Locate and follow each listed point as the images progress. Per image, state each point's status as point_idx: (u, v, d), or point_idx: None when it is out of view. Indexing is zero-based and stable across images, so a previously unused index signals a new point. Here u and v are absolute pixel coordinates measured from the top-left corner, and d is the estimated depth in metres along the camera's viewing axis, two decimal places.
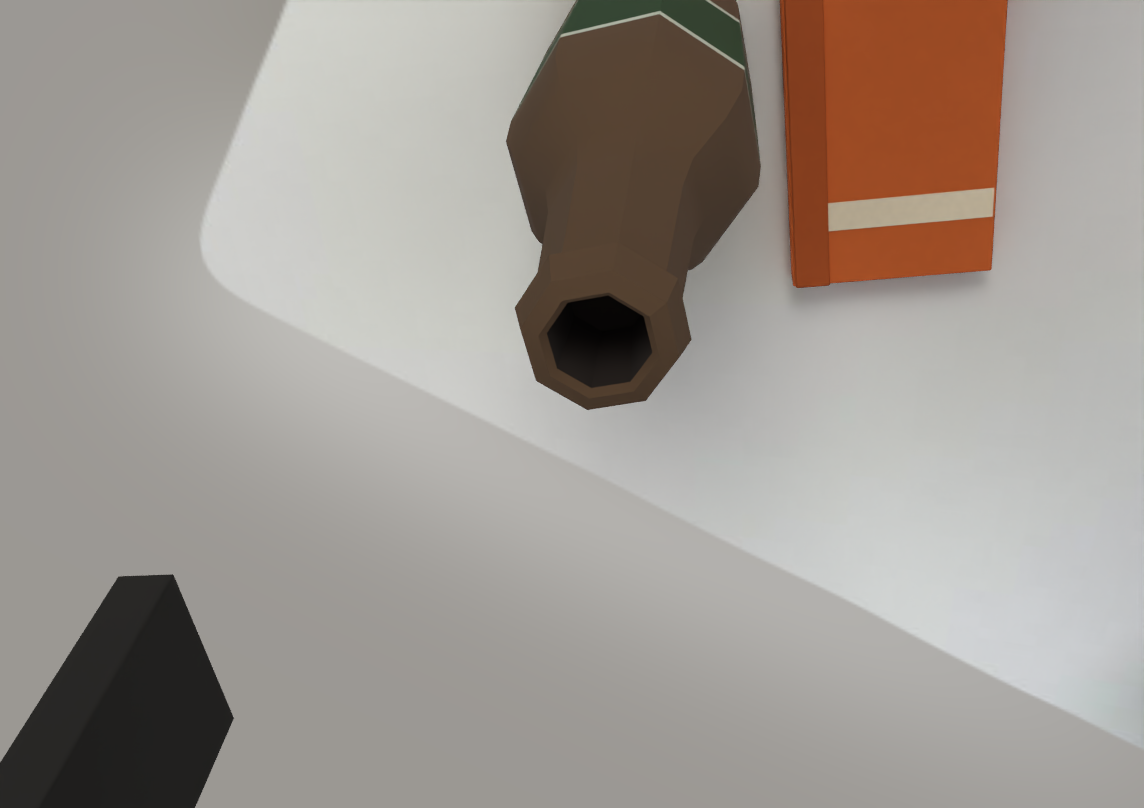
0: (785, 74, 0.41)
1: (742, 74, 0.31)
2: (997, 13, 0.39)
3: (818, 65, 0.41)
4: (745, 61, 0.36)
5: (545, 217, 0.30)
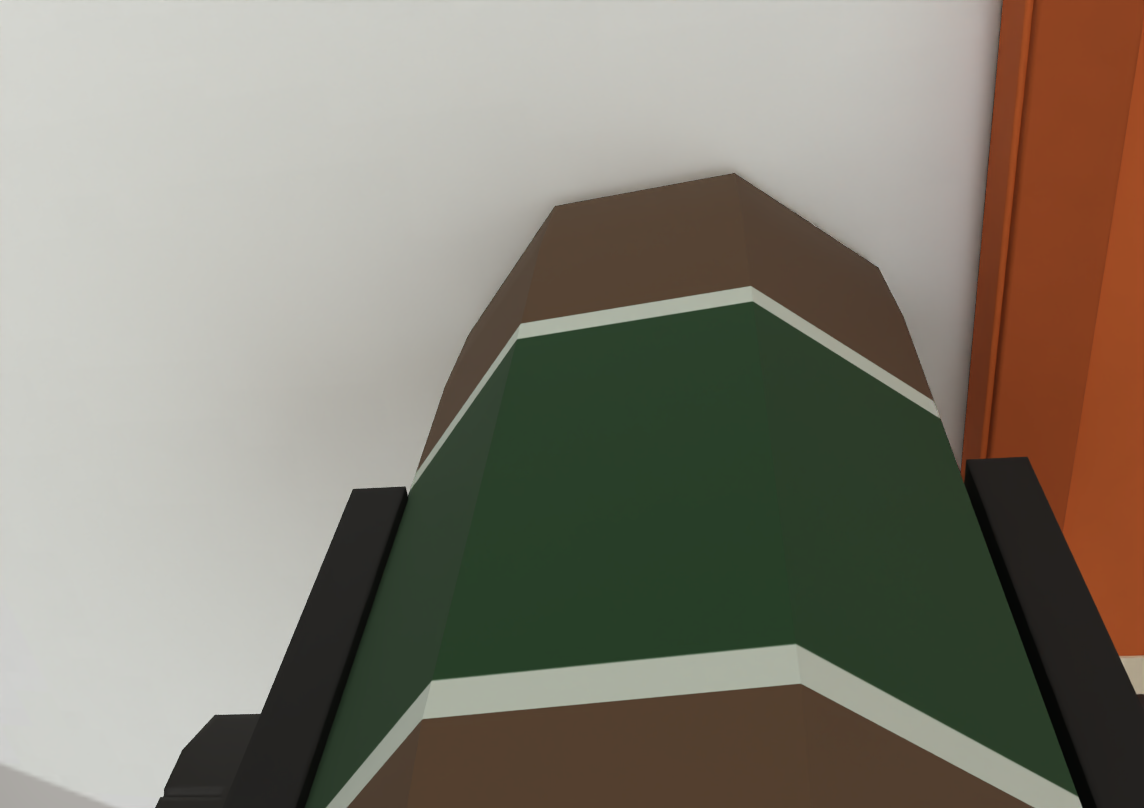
0: (985, 434, 0.18)
1: None
2: None
3: (1066, 425, 0.18)
4: None
5: None
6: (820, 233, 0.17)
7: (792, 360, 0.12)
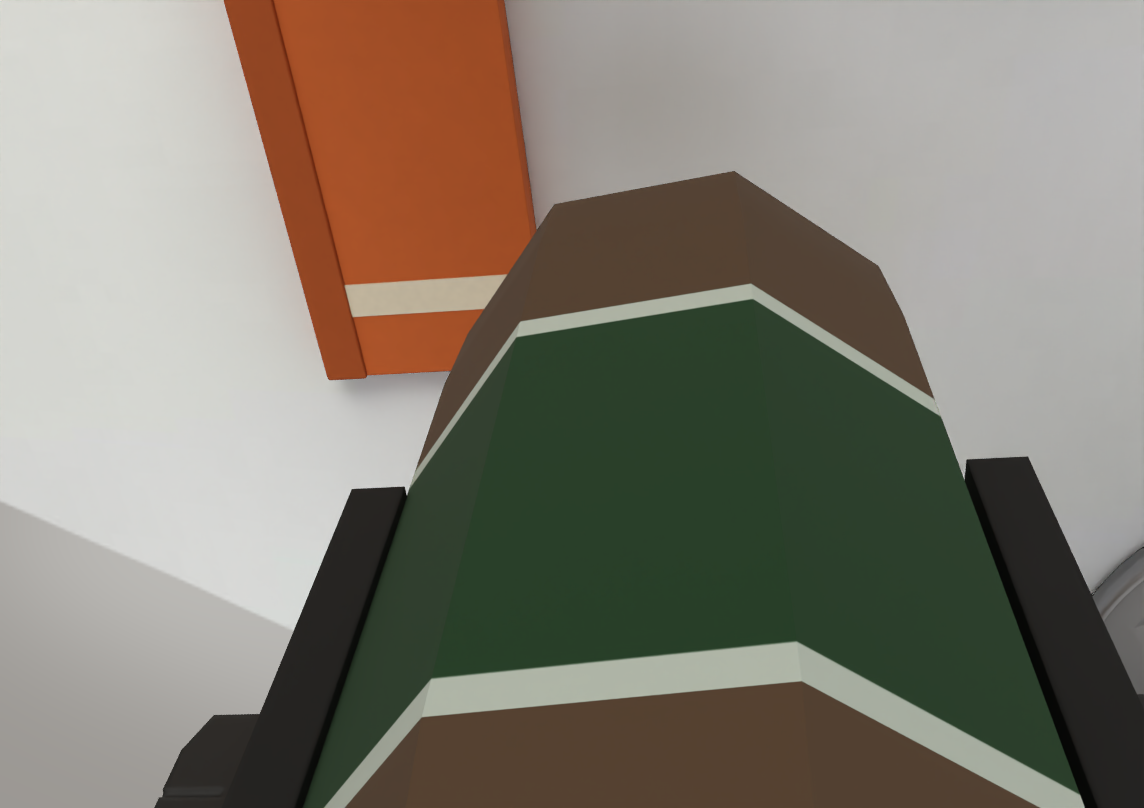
0: (261, 133, 0.34)
1: None
2: (496, 69, 0.32)
3: (294, 124, 0.33)
4: None
5: None
6: (820, 231, 0.17)
7: (792, 357, 0.12)
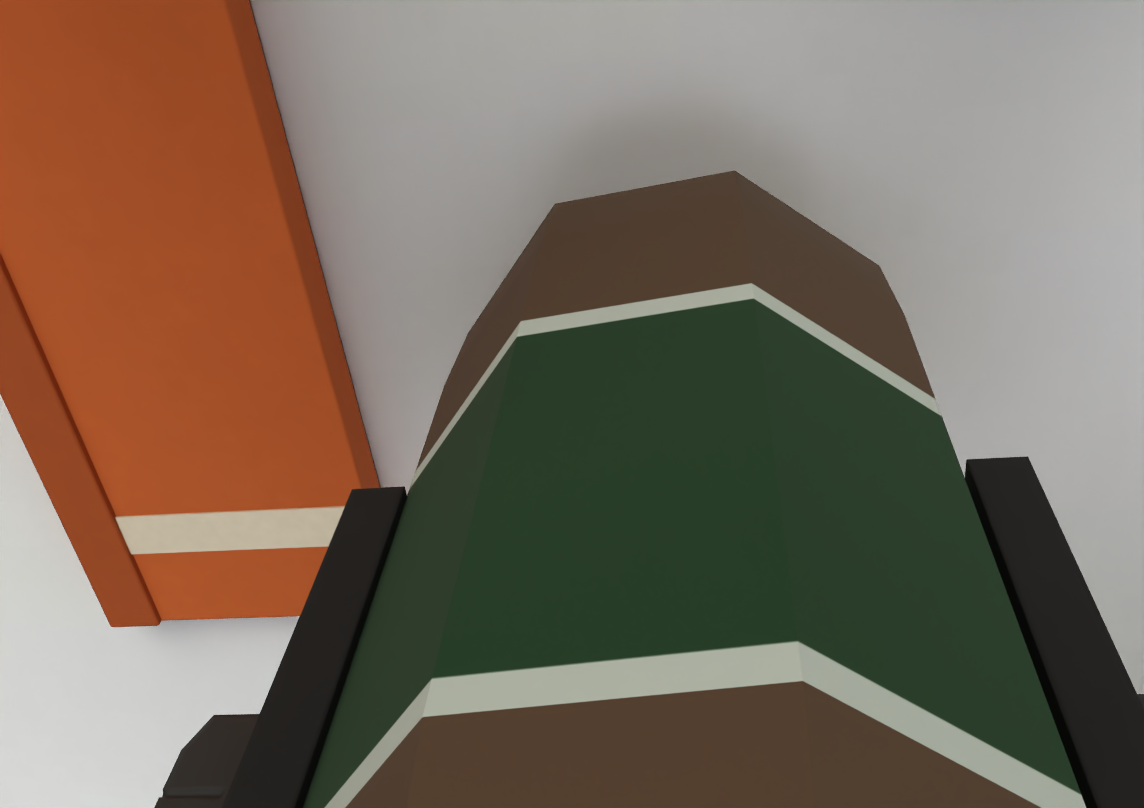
0: None
1: None
2: (281, 256, 0.23)
3: (14, 324, 0.24)
4: None
5: None
6: (820, 231, 0.17)
7: (793, 357, 0.12)
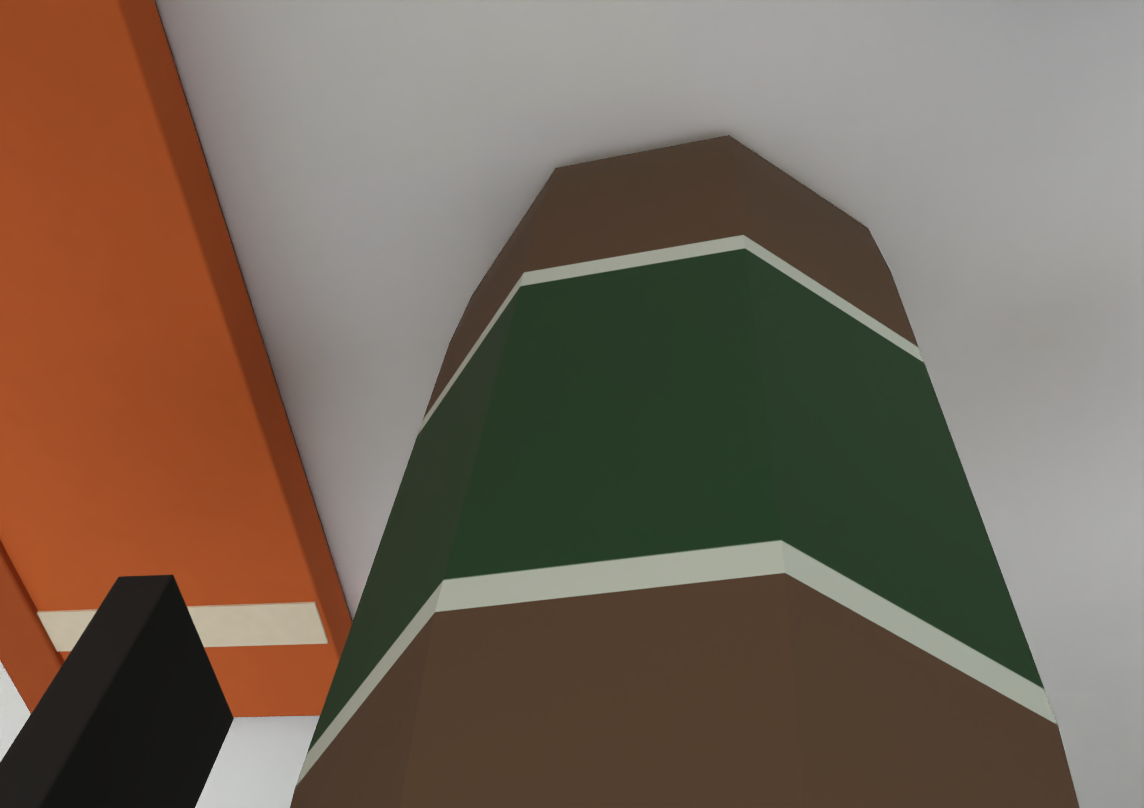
0: None
1: (1065, 770, 0.09)
2: (212, 331, 0.20)
3: None
4: None
5: None
6: (811, 194, 0.18)
7: (782, 302, 0.13)
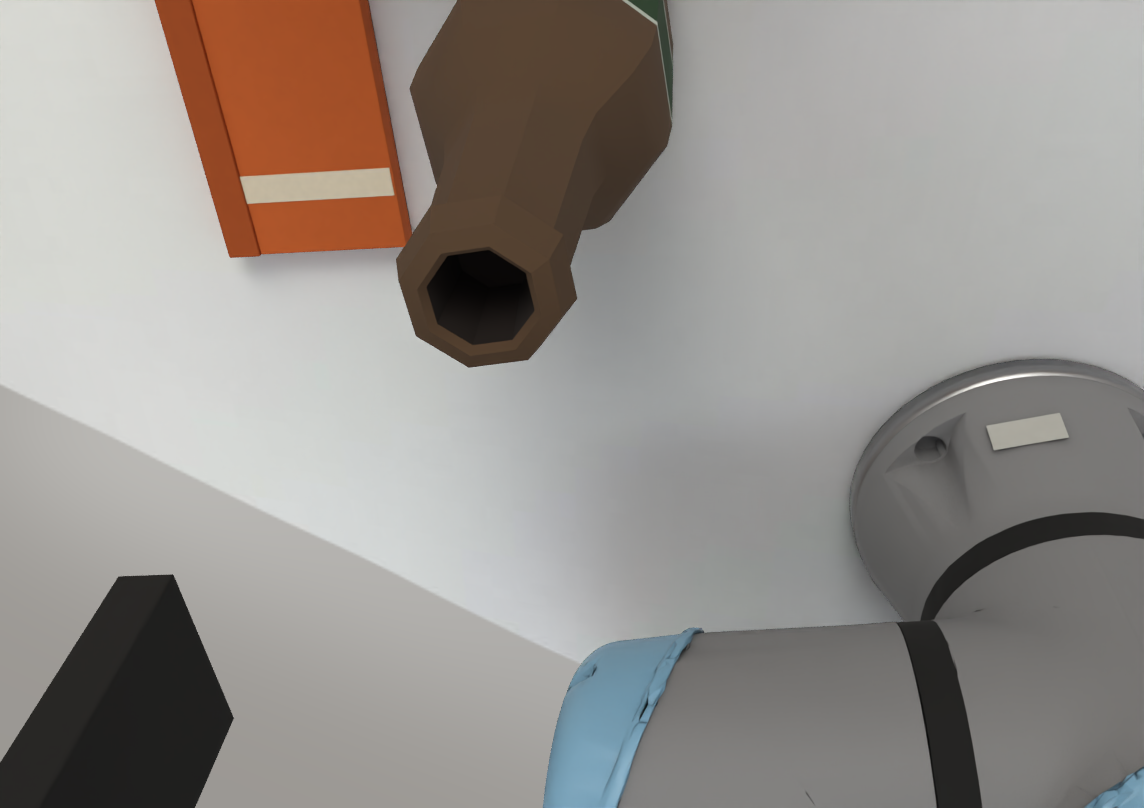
0: None
1: (654, 29, 0.31)
2: (351, 0, 0.41)
3: (194, 42, 0.42)
4: (663, 17, 0.35)
5: None
6: None
7: None
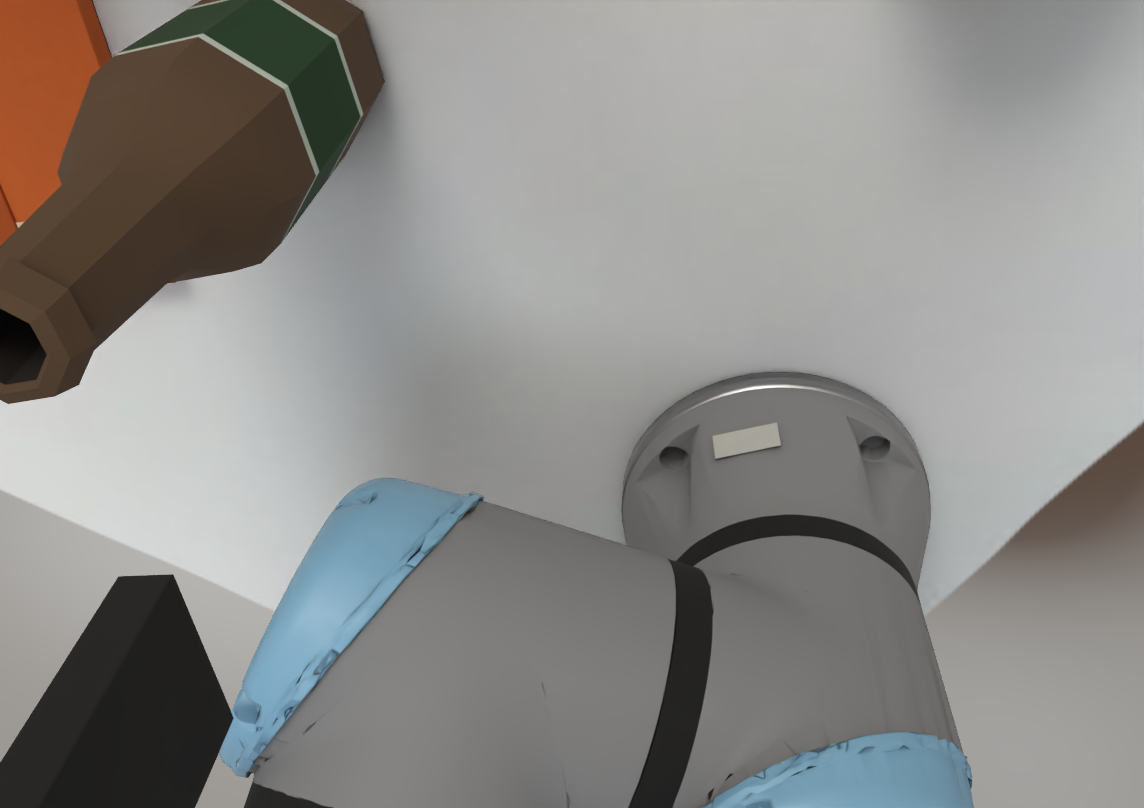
0: None
1: (277, 93, 0.34)
2: (90, 61, 0.45)
3: None
4: (332, 75, 0.39)
5: None
6: None
7: (265, 6, 0.38)
